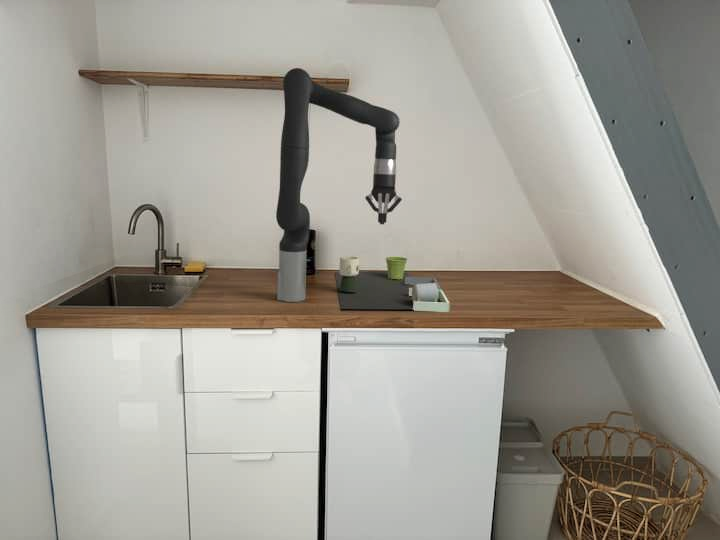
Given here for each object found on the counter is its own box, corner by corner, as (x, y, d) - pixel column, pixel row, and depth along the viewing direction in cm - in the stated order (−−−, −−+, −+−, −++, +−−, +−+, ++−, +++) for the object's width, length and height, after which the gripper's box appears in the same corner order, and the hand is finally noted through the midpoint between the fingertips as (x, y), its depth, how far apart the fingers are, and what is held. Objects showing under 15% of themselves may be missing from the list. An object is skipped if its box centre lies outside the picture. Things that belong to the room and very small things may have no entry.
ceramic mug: (410, 301, 186) (411, 280, 185) (432, 301, 187) (434, 280, 186) (416, 310, 176) (418, 288, 175) (440, 310, 177) (442, 288, 176)
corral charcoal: (408, 295, 194) (409, 288, 194) (404, 284, 214) (405, 277, 213) (441, 297, 194) (441, 289, 194) (434, 285, 213) (434, 278, 213)
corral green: (413, 310, 175) (413, 301, 174) (408, 296, 194) (409, 288, 193) (449, 312, 175) (449, 303, 174) (441, 297, 194) (441, 289, 193)
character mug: (360, 295, 192) (361, 260, 189) (340, 295, 190) (342, 260, 188) (355, 288, 202) (356, 255, 200) (336, 288, 201) (338, 255, 198)
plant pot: (381, 279, 221) (382, 259, 219) (387, 275, 229) (388, 255, 228) (403, 281, 218) (404, 261, 216) (408, 277, 227) (409, 257, 225)
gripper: (365, 172, 174) (362, 224, 177) (405, 174, 174) (401, 226, 177) (365, 172, 181) (362, 222, 185) (403, 173, 181) (400, 223, 185)
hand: (382, 224), depth 181 cm, fingers closed
